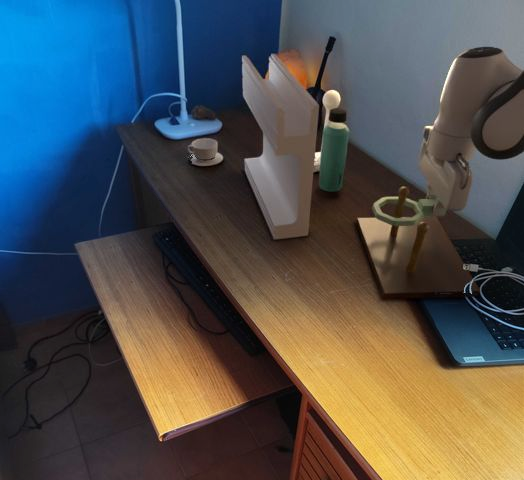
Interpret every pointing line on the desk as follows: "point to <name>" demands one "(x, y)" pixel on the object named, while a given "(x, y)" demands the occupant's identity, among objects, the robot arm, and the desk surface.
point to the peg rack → (414, 257)
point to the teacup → (205, 152)
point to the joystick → (327, 118)
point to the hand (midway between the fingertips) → (432, 208)
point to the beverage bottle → (334, 151)
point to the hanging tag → (419, 207)
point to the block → (282, 147)
